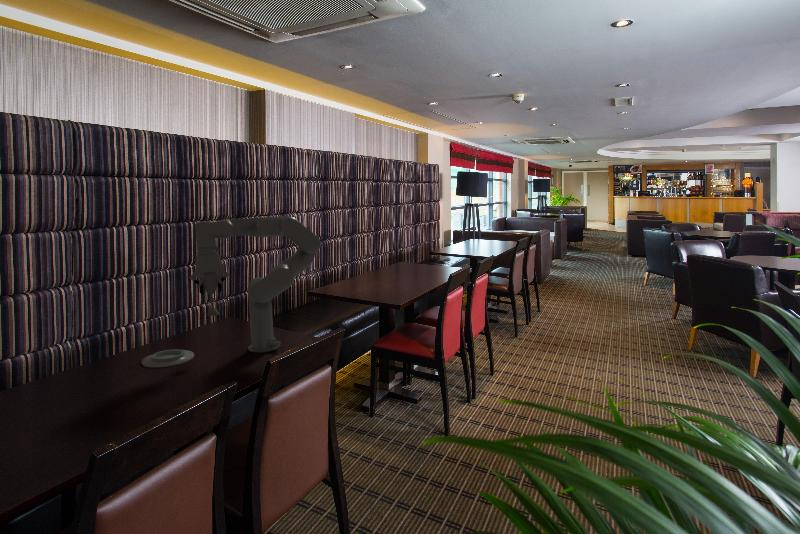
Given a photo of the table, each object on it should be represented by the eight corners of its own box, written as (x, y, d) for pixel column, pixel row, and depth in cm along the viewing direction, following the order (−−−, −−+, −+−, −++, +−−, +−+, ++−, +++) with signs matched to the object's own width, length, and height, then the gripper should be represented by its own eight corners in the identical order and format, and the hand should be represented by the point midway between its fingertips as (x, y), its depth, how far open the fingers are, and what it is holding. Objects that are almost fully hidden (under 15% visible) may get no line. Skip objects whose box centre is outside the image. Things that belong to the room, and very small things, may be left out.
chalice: (224, 312, 216) (221, 271, 214) (217, 316, 210) (213, 273, 207) (208, 312, 217) (204, 271, 214) (200, 316, 210) (196, 274, 208)
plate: (204, 354, 217) (204, 348, 216) (168, 369, 198) (167, 364, 198) (168, 350, 224) (167, 345, 223) (130, 364, 205) (129, 359, 205)
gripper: (228, 248, 216) (231, 290, 219) (184, 252, 209) (188, 294, 212) (230, 250, 209) (233, 293, 212) (185, 253, 202) (189, 297, 205)
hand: (211, 293), depth 212 cm, fingers closed on chalice, 6 cm apart
